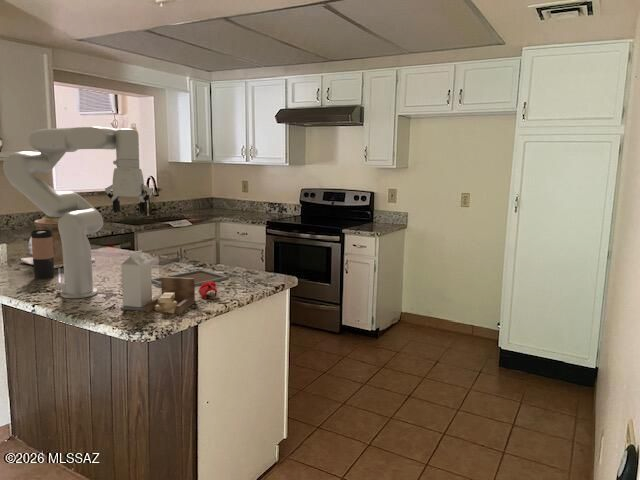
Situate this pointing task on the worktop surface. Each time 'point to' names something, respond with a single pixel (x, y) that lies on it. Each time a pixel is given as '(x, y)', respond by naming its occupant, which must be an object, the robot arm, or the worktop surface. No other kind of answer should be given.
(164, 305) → the offcut mid
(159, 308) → the offcut low
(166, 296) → the offcut top
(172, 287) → the rack
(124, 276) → the milk carton
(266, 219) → the worktop surface
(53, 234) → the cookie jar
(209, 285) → the red rounded piece
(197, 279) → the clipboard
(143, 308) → the pad
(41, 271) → the travel mug
